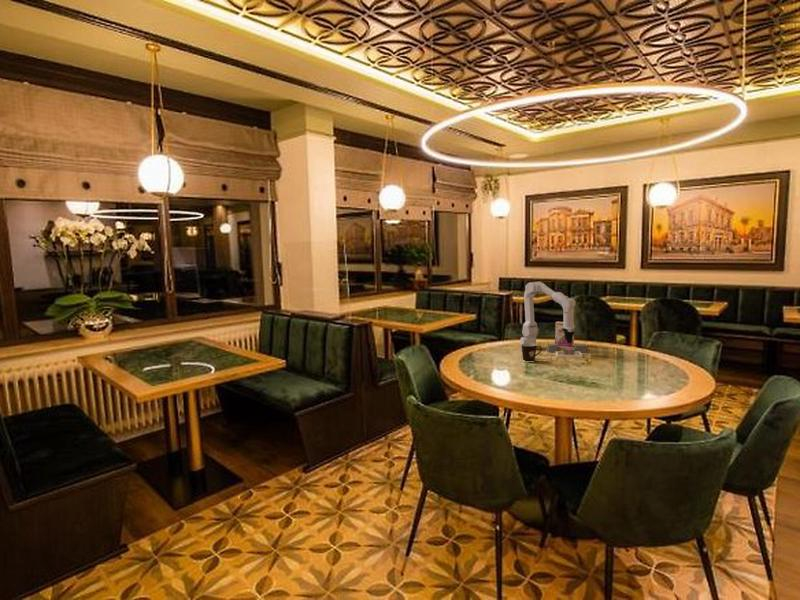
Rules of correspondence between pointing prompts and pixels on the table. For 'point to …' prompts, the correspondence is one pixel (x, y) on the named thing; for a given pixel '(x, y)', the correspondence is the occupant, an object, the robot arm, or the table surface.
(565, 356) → the parts tray
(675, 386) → the table surface
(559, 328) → the candy bar box
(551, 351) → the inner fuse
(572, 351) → the marked fuse
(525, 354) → the coffee mug
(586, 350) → the fuse board
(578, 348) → the outer fuse
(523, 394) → the table surface
